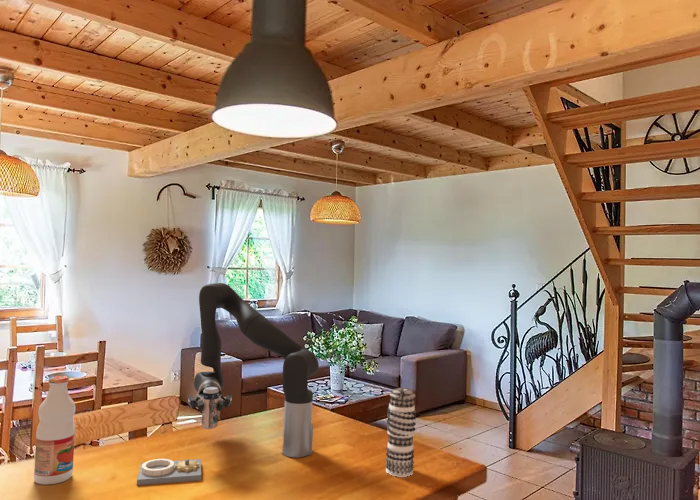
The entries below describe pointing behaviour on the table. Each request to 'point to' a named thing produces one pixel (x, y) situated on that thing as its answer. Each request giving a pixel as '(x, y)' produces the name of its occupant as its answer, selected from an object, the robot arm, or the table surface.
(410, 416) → the decorative candle
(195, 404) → the robot arm
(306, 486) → the table surface
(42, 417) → the fruit juice
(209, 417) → the beer can
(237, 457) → the table surface
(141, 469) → the gear board
